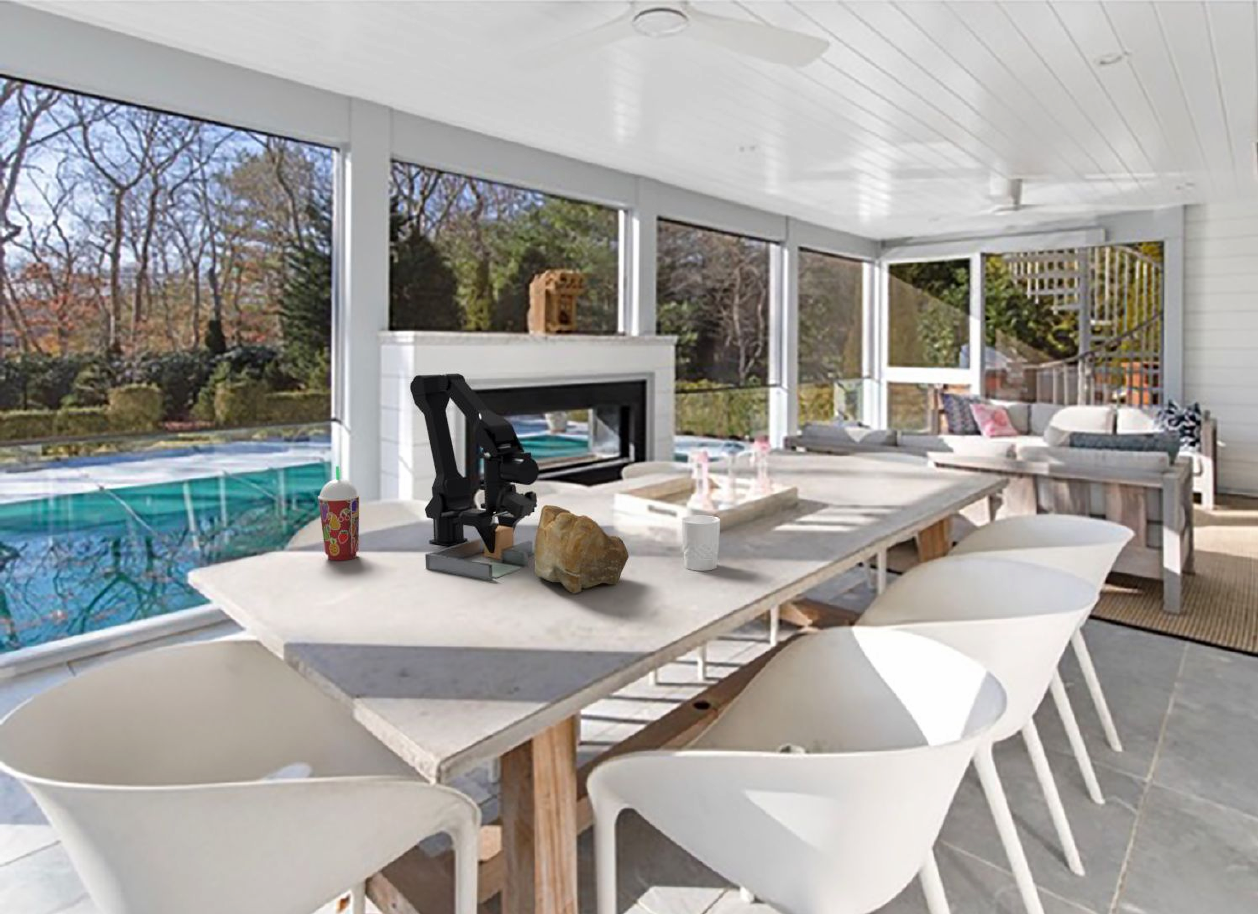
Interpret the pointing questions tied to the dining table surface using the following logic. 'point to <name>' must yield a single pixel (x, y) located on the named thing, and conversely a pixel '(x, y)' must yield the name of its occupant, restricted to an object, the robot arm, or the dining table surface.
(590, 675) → the dining table surface
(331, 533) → the smoothie
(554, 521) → the rough brown rock
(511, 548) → the steel rail course
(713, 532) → the white cup
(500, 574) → the pad
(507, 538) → the orange block
